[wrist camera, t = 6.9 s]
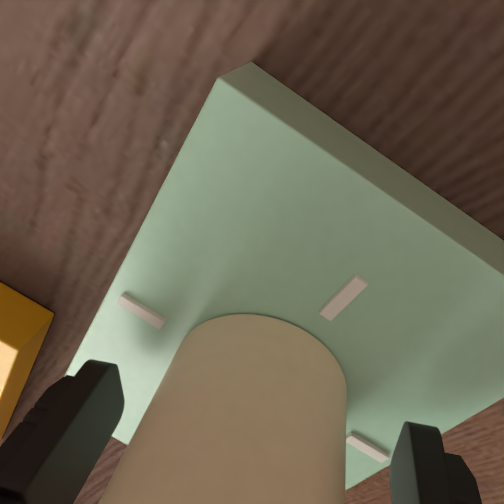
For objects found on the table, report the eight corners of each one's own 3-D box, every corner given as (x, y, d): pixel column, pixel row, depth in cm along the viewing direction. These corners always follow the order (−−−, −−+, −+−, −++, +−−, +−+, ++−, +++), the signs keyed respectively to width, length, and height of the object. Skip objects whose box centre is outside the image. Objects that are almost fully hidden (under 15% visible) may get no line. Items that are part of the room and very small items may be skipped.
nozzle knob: (350, 319, 10) (348, 566, 6) (343, 447, 12) (339, 689, 8) (162, 306, 11) (35, 503, 7) (190, 426, 14) (111, 629, 9)
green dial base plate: (289, 458, 18) (278, 534, 16) (94, 345, 17) (47, 406, 15) (545, 270, 12) (604, 347, 9) (250, 60, 10) (215, 77, 8)
